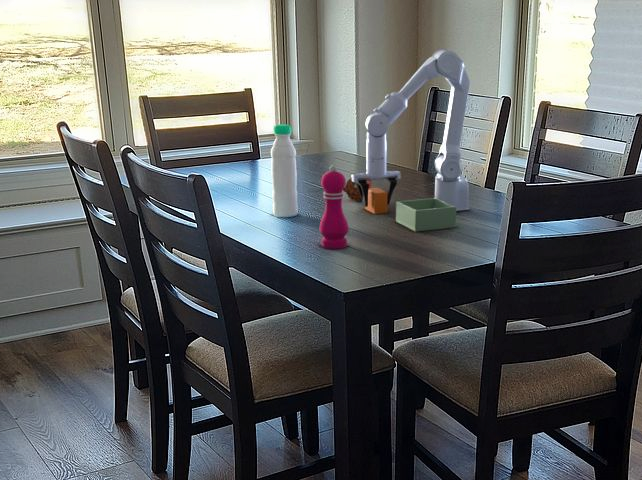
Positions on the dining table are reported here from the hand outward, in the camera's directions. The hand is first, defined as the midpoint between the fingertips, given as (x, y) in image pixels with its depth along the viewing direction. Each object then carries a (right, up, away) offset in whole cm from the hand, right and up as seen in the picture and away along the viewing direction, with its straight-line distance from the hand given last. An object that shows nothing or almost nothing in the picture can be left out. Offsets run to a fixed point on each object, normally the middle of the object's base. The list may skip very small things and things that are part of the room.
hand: (376, 205), depth 247 cm
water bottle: (-26, -4, -5) cm, 27 cm away
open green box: (+13, -8, -14) cm, 21 cm away
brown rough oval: (-5, +4, +15) cm, 16 cm away
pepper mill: (-11, -17, -35) cm, 40 cm away
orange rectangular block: (0, -2, +1) cm, 2 cm away
